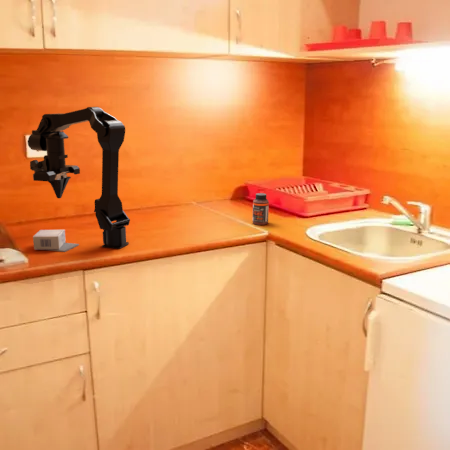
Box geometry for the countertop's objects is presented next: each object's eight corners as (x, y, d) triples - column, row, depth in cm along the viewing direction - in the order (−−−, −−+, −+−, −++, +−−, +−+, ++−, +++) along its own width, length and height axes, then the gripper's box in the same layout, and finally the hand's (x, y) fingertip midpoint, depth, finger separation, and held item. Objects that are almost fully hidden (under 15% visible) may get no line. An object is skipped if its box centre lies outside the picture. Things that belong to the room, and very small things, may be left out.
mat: (79, 245, 174) (79, 244, 174) (64, 252, 167) (64, 250, 167) (55, 242, 177) (55, 241, 177) (40, 249, 170) (39, 248, 170)
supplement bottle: (250, 224, 202) (251, 194, 199) (254, 221, 207) (255, 192, 205) (266, 225, 200) (266, 195, 197) (269, 222, 206) (270, 193, 203)
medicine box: (59, 249, 168) (66, 242, 176) (58, 235, 167) (65, 229, 175) (33, 250, 168) (41, 242, 176) (32, 236, 167) (40, 229, 175)
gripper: (51, 148, 190) (54, 192, 194) (16, 154, 173) (21, 201, 177) (79, 149, 187) (82, 193, 191) (46, 155, 170) (50, 204, 174)
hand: (59, 198), depth 183 cm, fingers closed
